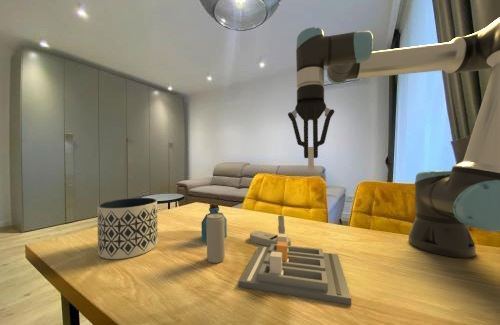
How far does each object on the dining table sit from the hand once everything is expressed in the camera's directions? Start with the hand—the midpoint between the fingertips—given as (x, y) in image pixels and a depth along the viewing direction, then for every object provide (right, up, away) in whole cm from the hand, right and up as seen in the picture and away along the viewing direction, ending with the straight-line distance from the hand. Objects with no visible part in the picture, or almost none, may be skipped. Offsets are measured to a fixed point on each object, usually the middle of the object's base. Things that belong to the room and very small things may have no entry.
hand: (310, 169), depth 61 cm
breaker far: (-9, -23, -3) cm, 25 cm away
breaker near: (-12, -23, -14) cm, 30 cm away
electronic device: (-11, -25, +8) cm, 28 cm away
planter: (-55, -25, +5) cm, 60 cm away
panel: (-7, -24, -9) cm, 27 cm away
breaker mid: (-10, -23, -9) cm, 26 cm away
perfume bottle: (-30, -25, +12) cm, 40 cm away
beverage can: (-27, -25, -3) cm, 37 cm away
